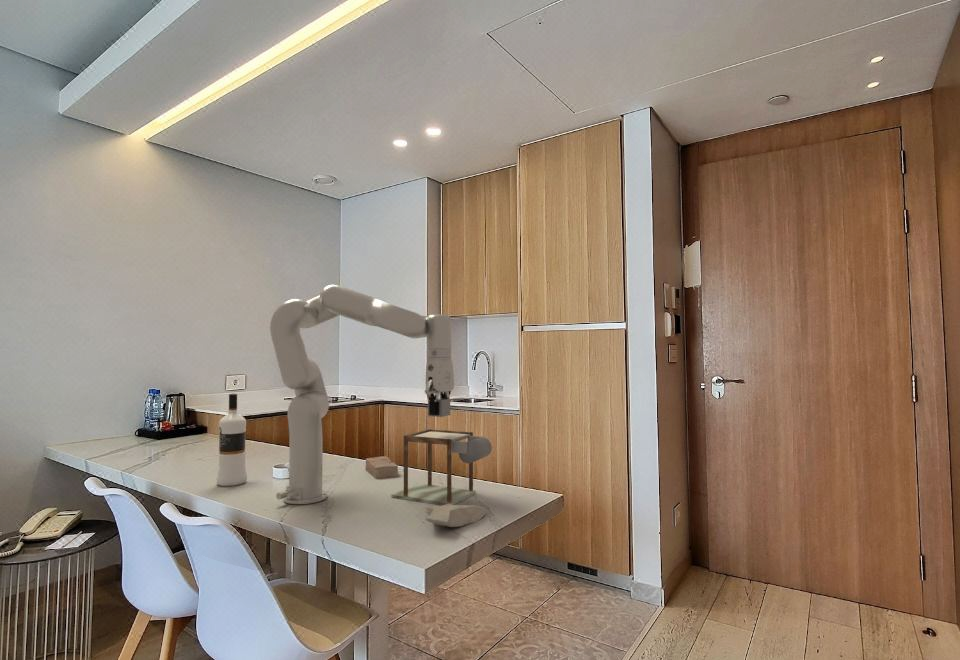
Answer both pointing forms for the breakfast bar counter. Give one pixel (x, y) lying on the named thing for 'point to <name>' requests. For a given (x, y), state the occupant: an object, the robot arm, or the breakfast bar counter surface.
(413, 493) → the trapdoor frame
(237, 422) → the vodka
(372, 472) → the brick
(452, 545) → the breakfast bar counter surface
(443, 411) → the stone block
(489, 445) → the trapdoor
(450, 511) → the rock
